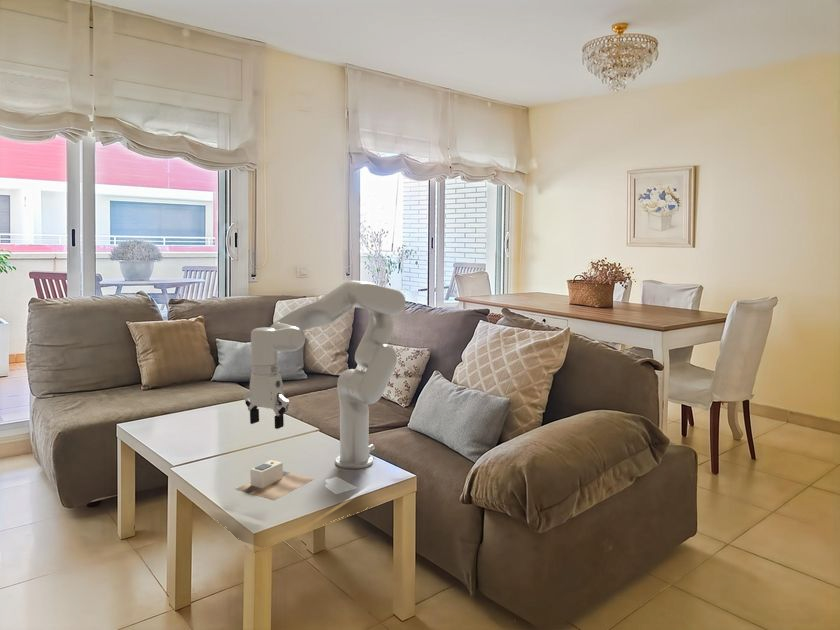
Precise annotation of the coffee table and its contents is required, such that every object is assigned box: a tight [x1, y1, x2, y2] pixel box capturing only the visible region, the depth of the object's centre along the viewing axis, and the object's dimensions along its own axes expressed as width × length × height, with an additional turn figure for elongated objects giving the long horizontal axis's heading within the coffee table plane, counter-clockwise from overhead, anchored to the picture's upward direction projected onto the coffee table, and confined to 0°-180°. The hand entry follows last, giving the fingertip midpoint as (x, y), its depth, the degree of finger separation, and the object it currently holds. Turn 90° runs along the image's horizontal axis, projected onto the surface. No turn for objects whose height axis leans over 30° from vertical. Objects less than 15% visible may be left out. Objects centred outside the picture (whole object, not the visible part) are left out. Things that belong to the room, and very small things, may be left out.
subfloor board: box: [235, 470, 315, 501], centre depth 185 cm, size 18×15×1 cm
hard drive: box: [325, 476, 358, 495], centre depth 186 cm, size 2×8×12 cm
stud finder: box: [249, 459, 284, 488], centre depth 186 cm, size 9×4×5 cm, turn 151°
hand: (266, 425), depth 185 cm, fingers open, 9 cm apart
